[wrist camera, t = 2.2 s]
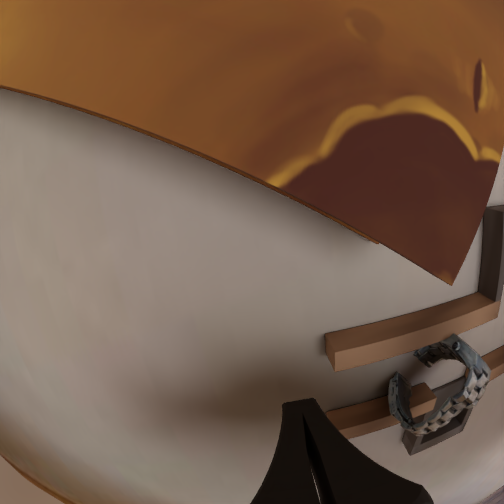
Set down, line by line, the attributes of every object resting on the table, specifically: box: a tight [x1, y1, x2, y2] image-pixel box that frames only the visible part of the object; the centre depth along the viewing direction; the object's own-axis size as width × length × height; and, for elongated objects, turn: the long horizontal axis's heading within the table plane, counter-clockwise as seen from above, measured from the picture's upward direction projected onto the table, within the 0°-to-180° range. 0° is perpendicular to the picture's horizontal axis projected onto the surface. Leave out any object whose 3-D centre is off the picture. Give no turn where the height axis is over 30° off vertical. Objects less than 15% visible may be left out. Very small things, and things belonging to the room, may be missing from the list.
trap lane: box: [325, 205, 504, 456], centre depth 12 cm, size 18×15×2 cm
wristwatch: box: [388, 333, 491, 436], centre depth 11 cm, size 3×5×5 cm, turn 133°
